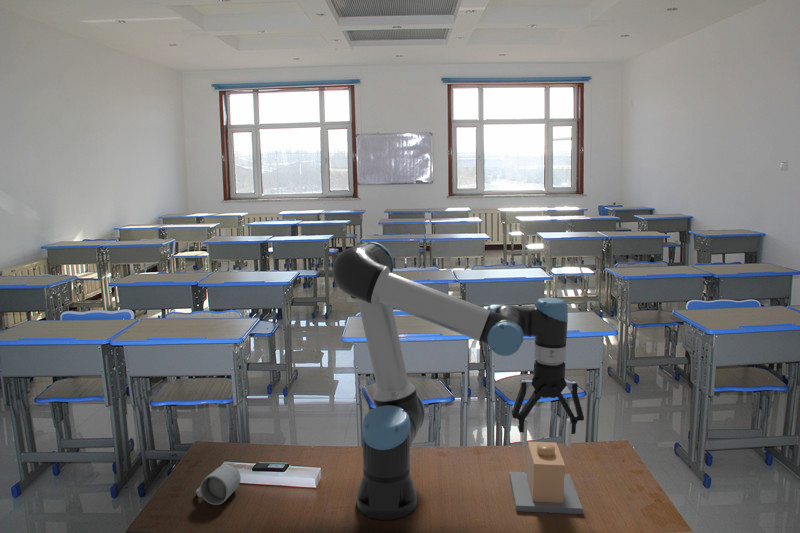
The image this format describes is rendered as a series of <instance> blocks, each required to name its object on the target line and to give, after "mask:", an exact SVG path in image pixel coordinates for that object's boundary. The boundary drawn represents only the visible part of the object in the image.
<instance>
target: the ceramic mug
mask: <svg viewBox="0 0 800 533" xmlns="http://www.w3.org/2000/svg"><path fill="white" fill-rule="evenodd" d="M241 480H242V479H241V473H240V471H239V470H238V468H237V467H235V466H234V465H231V464H222V465H221V466H219V467H217V468H216V469H214V470H213V471H212V472H211V473H210V474H208V475H207V476H206V477H204V479H202V481H201V484H200V486H199V487H198V488H197V489H196V491H195V493H196V495H197V497H198V498H203V500H204V501H206V502H207V503H208V504H210V505H213V506H219V505H222V504H223V503H225V502H226V501H227V500H228V498H230V497H231V495H232V494H233V493H234V492H235V491H236V490H237V489H238V487H239V486H240V484H241Z"/></svg>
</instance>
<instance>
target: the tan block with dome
mask: <svg viewBox="0 0 800 533" xmlns="http://www.w3.org/2000/svg"><path fill="white" fill-rule="evenodd" d="M526 453H527V457H526V472H527V480H528V484H529V488H530V492H531V496H532V500H533V501H534V502H556V503H563V497H564V477H565V474H566V472H565V471H566V464H565V461H564V458H563V457H562V453H561V451H560V448H559V446H558V444H557V442H551V441H550V442H547V441H527V452H526Z"/></svg>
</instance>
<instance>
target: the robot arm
mask: <svg viewBox="0 0 800 533" xmlns="http://www.w3.org/2000/svg"><path fill="white" fill-rule="evenodd" d="M393 271H394V258H393V255H392V253H391V251H390V250H389V249H388V248H387V246H385V245H383V244H381V243H379V242H376V241H365V242H363V241H362V242H361V243H358V244H356V245H354V246H352V247H349V248H346V249H344V250H343V251H341V252H340V253H339V254H338V255H337V256H336V257H335V260H334V262H333V265H332V277H333V280H334V282H335V284H336V286H337V287H338V288H339V289H340V290H341V291H342V292H344V293H345V294H347V295H349V296H350V297H351V299H352V300H353V301H354V302H356V303H357V304H358V307H359V312H360V316H361V321H362V325H363V326H362V327H363V330H364V335H365V340H366V345H367V348H368V353H369V358H370V362H371V366H372V371H373V375H374V379H375V380H374V381H375V385H376V389H375V392H374V394H373V395H372V397H373V398H372V399H373V402H374V407H375V408H373V409H370V410H369V411H368V412H367V413H366V414H365V415H364V418H363V420H362V426H361V427H362V428H361V434H362V471H363V472H362V473H363V474H362V477H361V480H360V483H359V485H358V486H359V487H358V489H357V492H356V507H357V509H358V510H359V512H360V513H361V514H363V515H365V517H368V518H371V519H375V520H378V521H379V520H380V521H391V520H397V519H400V518H405V517H406V516H409V515H410V514H411V513H412V512H413V511H414V510H415V509H416V507H417V506H418V504H417V503H418V500H417V499H418V498H417V497H418V494H417V490H416V488H415V484H414V482H413V479H412V476H411V470H410V469H411V467H410V466H411V447H412V444H413V442H414V440H415V438H416V436H417V435H418V432H419V431H420V429H421V428H422V426H423V423H424V420H425V419H424V418H425V410H426V409H425V405H424V402H423V400H422V398H421V396H419V394H417V389H416V386H415V385H414V383H411V382H409V377H408V374H407V369H406V366H405V365H406V364H405V359H404V354H403V351H402V350H403V349H402V345H401V342H400V341H401V340H400V336H399V331H398V327H397V321H396V318H395V312H394V309H396V310H398V311H401V312H403V313H406V314H409V315H411V316H414V317H416V318H419V319H421V320H423V321H427V322H429V323H431V324H434V325H437V326H439V327H441V328H445V329H447V330H450V331H452V332H454V333H457V334H460V335H463V336H465V337H468V338H469V339H472V340H475V341H478V342H480V343H483V344H486V346H487V345H488V347H489V348H490V350H491V351H492V352H494V354H496V355H499V356H501V357H506V356H507V357H508V356H512V355H514V354H516V353H517V352H518V351H519V350H520V348H521V347H522V344H523V343H524V337H526V338H527V337H528V338H529V337H530V338H531V337H533V338H534V353H533V354H534V355H533V356H534V359H535V360H534V362H533V376H532V379H530V380H525V379H524V378H521V379H520V380H519V382H520V384H519V385H520V387H519V391H518V394H517V396H516V398H515V401H514V405H513V407H512V410H511V415H512V416H511V417H512V418H513V419H514V420H515V419H517V420H518V428H517V429H518V431H519V433H521V434H522V435H521V436H522V437H521V438H522V440H521V442H522V445H523V446H522V447H528V439H527V438H528V419H527V417H528V415H529V414H530V413H531V411H532V410H533V408H534V407H535V405H536V404H537V403H538V402H539V401H540V399H541V398H543V399H545V398H552V399H556V397H557V398H558V400H559V402H560V404H561V405H562V407H563V408H564V411H565V412H566V414H567V416H568V417H569V418H566V422H565V423H566V424H565V426H566V427H565V428H566V429H565V444H566V448H568V449H571V447H572V435H575V434H576V432H577V430H576V429H577V424H578V422H579V421H580V422H582V421H584V420H585V416H584V414H583V413H584V412H583V409H582V405H581V401H580V398H579V394H578V387H579V385H578V383H577V381H576V380H574V379H572V380H571V381H568V380H566V378H565V377H566V363H565V361H566V360H567V359H566V357H567V340H568V338H567V337H568V336H567V335H568V321H569V318H568V316H569V314H568V313H569V312H568V310H569V309H568V306H569V305H568V304H567V302H566V301H565V300H563V299H562V298H558V297H541V298H538V299H537V300H536V303H535V305H532V306H531V305H530V306H528V305H527V306H526V305H514V304H513V305H512V304H511V305H510V304H503V303H499V304H489V305H488V307H487V308H485V307H482V306H479V305H477V304H474V303H471V302H469V301H466V300H464V299H461V298H459V297H456V296H453V295H450V294H448V293H445V292H443V291H440V290H437V289H435V288H432V287H430V286H427V285H424V284H422V283H419V282H416V281H415V280H411V279H408V278H406V277H402V276H401V275H398V274H395V273H393ZM531 386H532V388H534V390H533V391H532V394H531V396H530V397H529V399H528V400H527V401H526V403H525V405H524V406H523V408H522V405H523V403H524V400H525V398H526V395H527V390H529V389H530V387H531ZM566 387H567V389H568V390H569V391H570V395H571V397H572V401H573V404H574V407H575V408H574V409H575V412H576V414H574V413H573V411H572V409H571V407H570V406H569V404H568V402H567V401H566V399H565V397H564V395H563V393H562V392H563V390H565V388H566ZM521 408H522V409H521Z"/></svg>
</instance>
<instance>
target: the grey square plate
mask: <svg viewBox="0 0 800 533" xmlns="http://www.w3.org/2000/svg"><path fill="white" fill-rule="evenodd" d="M508 475H509V481H510V482H509V483H510V486H511V492H512V496H513V497H512V498H513V501H514V502H513V504H514V508H515V511H516V512H527V513H528V512H530V513H547V512H548V514H550V513H552V514H553V513H554V514H567V515H568V514H571V515H583V514H584V508H583V506H582V502H581V500H580V497H579V494H578V492H577V490H576V487H575V484H574V481H573V480H572V477H571V474H569V473H565V477H564V497H563V503H556V502H534V501H533V500H532V496H531V492H530V488H529V484H528V480H527V471H525V472H524V471H509V474H508Z"/></svg>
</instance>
